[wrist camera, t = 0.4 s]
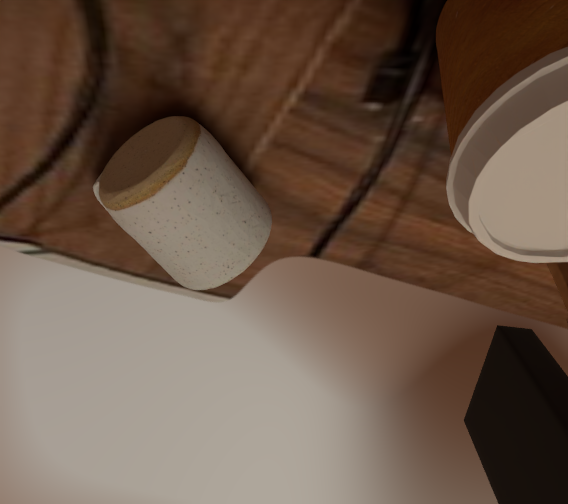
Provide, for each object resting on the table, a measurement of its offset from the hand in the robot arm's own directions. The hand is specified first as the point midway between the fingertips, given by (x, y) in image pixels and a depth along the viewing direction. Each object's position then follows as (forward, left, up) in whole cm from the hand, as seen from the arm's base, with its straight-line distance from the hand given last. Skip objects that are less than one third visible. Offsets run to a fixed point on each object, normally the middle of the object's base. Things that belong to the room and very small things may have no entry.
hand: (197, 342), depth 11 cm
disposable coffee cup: (+1, +13, -19) cm, 23 cm away
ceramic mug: (+12, -4, -19) cm, 23 cm away
